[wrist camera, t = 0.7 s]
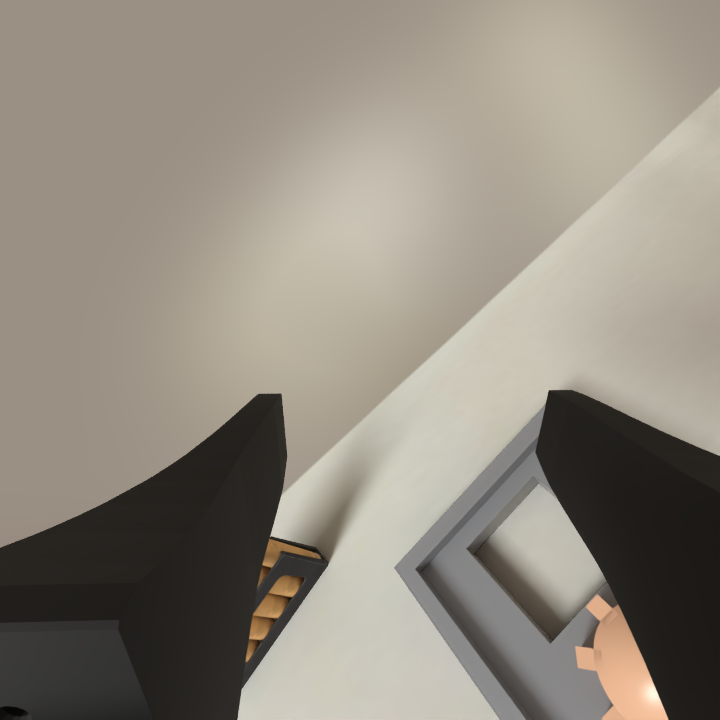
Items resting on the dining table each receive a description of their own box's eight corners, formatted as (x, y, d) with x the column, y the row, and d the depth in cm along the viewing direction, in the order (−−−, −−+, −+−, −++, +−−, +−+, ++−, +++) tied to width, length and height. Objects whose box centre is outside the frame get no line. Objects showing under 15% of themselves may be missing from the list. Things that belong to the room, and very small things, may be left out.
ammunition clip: (316, 546, 32) (194, 506, 24) (329, 563, 31) (205, 526, 23) (228, 670, 31) (65, 673, 22) (238, 693, 29) (69, 705, 21)
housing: (905, 651, 16) (947, 649, 14) (665, 924, 16) (664, 971, 13) (554, 419, 28) (543, 395, 25) (411, 573, 27) (386, 564, 25)
